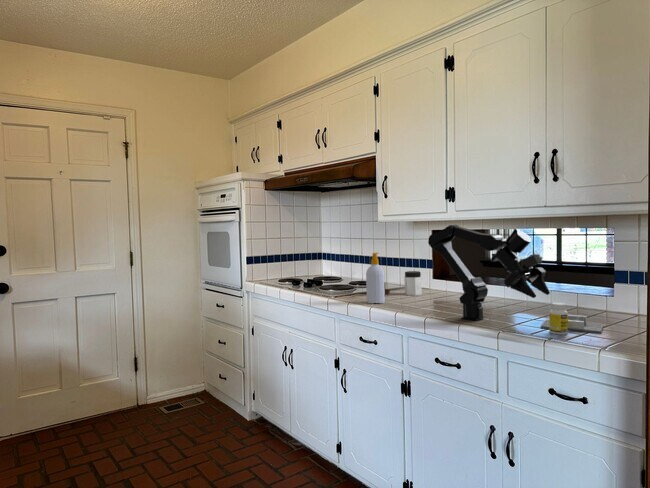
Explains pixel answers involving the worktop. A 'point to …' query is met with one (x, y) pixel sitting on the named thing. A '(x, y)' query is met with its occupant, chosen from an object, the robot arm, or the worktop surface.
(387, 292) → the cup and saucer
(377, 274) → the soap bottle
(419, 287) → the jar
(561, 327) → the supplement bottle
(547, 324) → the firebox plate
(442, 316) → the worktop surface
